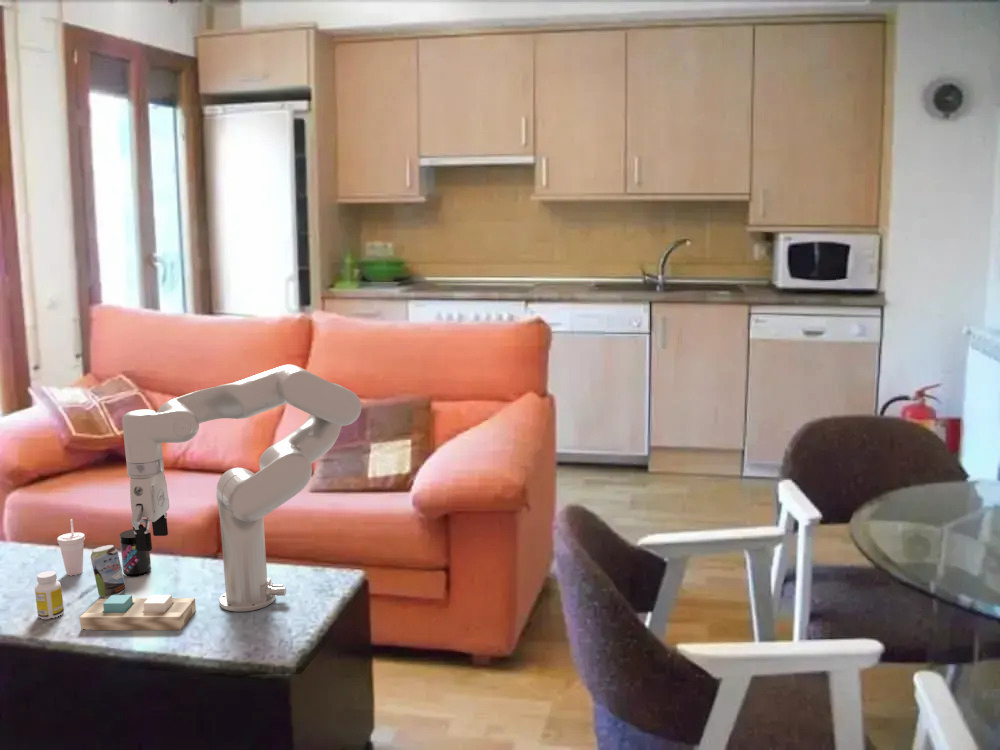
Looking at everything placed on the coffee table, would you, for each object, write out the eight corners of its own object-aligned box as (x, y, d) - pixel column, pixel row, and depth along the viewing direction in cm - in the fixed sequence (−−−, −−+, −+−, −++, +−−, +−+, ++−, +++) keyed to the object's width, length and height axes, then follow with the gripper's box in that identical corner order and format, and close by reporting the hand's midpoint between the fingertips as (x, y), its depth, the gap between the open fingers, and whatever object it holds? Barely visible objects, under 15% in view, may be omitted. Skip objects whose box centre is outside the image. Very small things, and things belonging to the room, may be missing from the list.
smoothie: (93, 571, 251) (88, 518, 248) (71, 579, 245) (65, 525, 243) (78, 566, 254) (72, 514, 251) (55, 574, 249) (49, 521, 246)
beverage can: (116, 601, 232) (112, 552, 229) (88, 599, 233) (83, 551, 231) (131, 590, 238) (127, 543, 235) (104, 589, 239) (99, 541, 237)
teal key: (133, 607, 223) (132, 594, 223) (124, 616, 219) (123, 603, 218) (112, 607, 223) (111, 595, 223) (104, 616, 219) (103, 603, 218)
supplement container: (122, 570, 251) (118, 531, 249) (150, 565, 253) (146, 527, 252) (124, 579, 245) (120, 539, 243) (153, 574, 247) (149, 535, 246)
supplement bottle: (64, 608, 228) (60, 568, 226) (63, 617, 223) (59, 576, 221) (38, 612, 226) (34, 571, 225) (37, 621, 221) (32, 580, 220)
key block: (195, 610, 226) (194, 598, 225) (180, 629, 216) (179, 616, 215) (100, 611, 226) (99, 598, 226) (81, 630, 217) (79, 617, 216)
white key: (172, 607, 223) (171, 594, 222) (165, 615, 218) (164, 603, 218) (152, 607, 223) (151, 594, 222) (144, 616, 218) (143, 603, 218)
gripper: (147, 478, 206) (154, 557, 209) (176, 456, 223) (183, 529, 226) (111, 479, 206) (119, 557, 209) (144, 456, 223) (151, 529, 226)
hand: (152, 542), depth 218 cm, fingers open, 8 cm apart
